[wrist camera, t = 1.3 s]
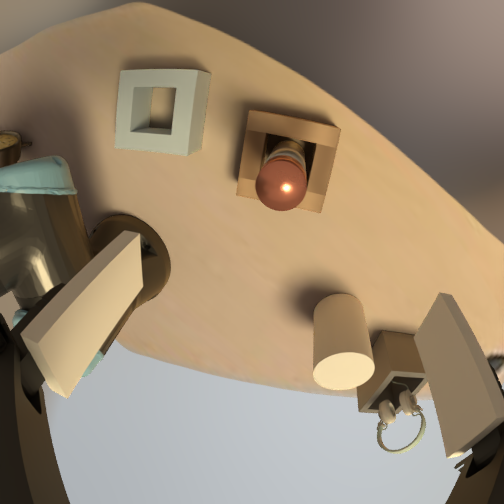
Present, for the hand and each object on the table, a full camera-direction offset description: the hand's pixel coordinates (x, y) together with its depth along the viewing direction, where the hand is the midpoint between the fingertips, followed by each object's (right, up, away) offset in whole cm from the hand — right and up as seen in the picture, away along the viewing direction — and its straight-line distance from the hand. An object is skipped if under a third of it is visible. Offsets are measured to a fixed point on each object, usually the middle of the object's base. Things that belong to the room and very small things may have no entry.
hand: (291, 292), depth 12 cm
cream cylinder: (+12, -8, +33) cm, 36 cm away
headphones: (+24, -18, +36) cm, 47 cm away
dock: (-12, +20, +22) cm, 32 cm away
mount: (+3, +13, +23) cm, 26 cm away
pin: (+3, +13, +23) cm, 26 cm away
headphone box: (+24, -18, +36) cm, 47 cm away
